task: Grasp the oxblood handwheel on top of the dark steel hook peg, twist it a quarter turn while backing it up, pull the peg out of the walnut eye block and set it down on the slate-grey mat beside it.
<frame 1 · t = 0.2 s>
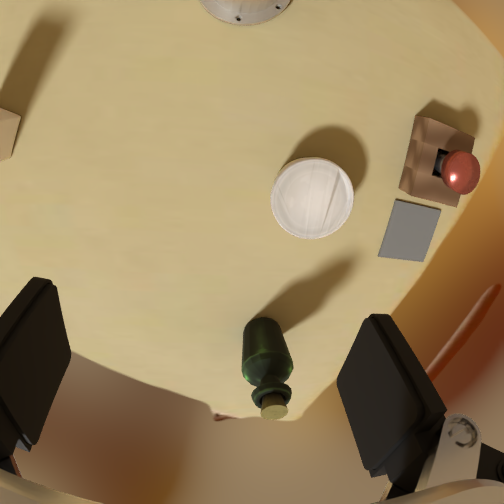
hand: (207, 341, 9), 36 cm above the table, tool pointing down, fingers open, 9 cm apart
potion bottle: (261, 330, 56), on the table
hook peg: (447, 166, 40), in the eye block
milk carton: (2, 130, 36), on the table
ramekin: (305, 189, 45), on the table
eye block: (431, 159, 44), on the table
slate mat: (410, 232, 49), on the table
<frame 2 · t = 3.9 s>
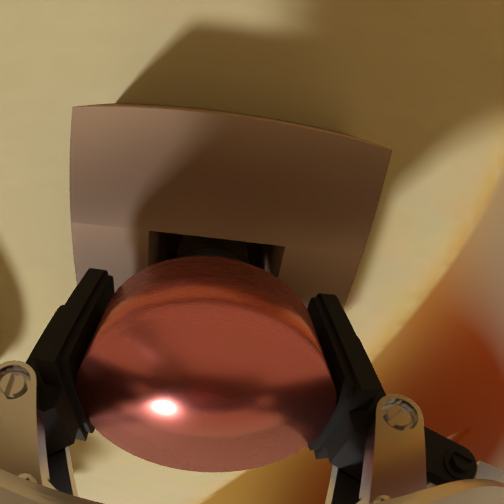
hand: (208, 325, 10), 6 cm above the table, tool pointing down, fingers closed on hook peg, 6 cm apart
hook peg: (209, 305, 10), in the eye block, touching gripper
eye block: (213, 246, 15), on the table
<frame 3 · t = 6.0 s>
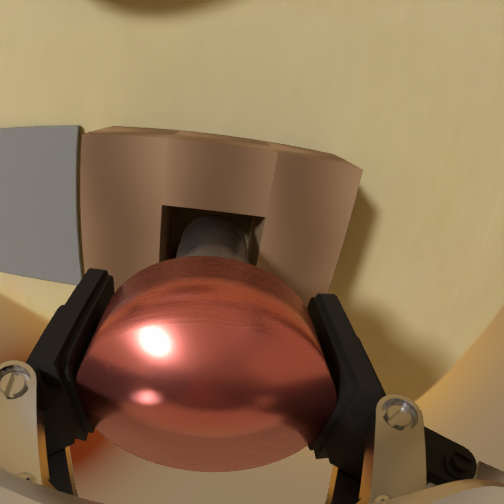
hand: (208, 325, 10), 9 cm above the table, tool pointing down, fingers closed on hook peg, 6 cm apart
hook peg: (209, 305, 10), point 8 cm above the table, touching gripper
eye block: (211, 224, 18), on the table
slate mat: (14, 205, 16), on the table
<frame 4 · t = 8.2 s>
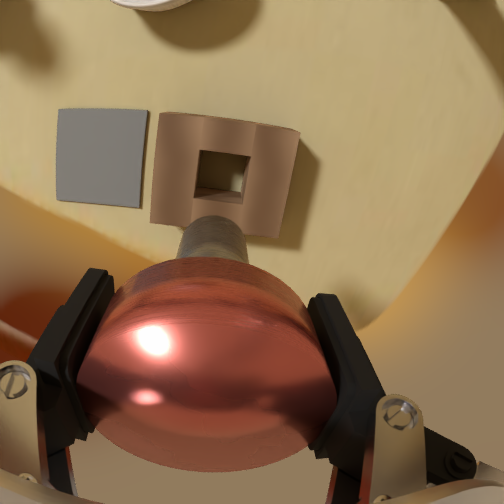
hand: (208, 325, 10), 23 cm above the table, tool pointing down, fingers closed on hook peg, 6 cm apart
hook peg: (209, 306, 11), point 22 cm above the table, touching gripper
eye block: (222, 168, 31), on the table
slate mat: (97, 156, 29), on the table
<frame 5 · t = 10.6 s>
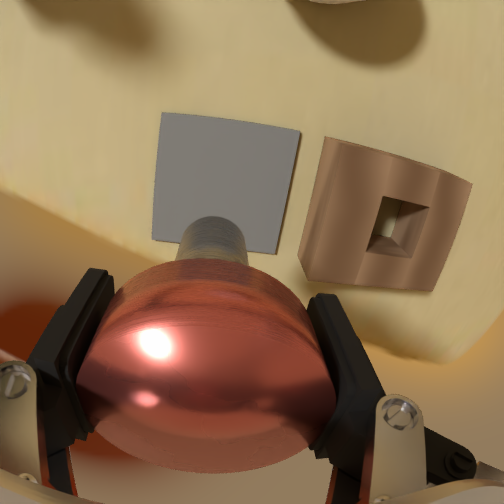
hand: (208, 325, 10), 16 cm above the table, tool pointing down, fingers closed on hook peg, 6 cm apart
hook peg: (208, 307, 10), point 15 cm above the table, touching gripper
eye block: (377, 210, 25), on the table
slate mat: (221, 185, 24), on the table
when the fingers open (7 cm above the table, at t = 12.6 s): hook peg drops 2 cm, resting on slate mat.
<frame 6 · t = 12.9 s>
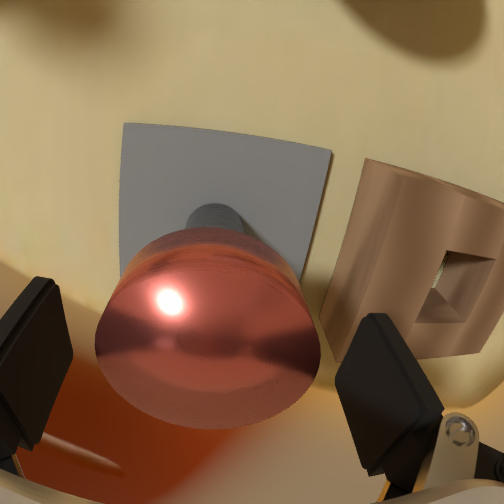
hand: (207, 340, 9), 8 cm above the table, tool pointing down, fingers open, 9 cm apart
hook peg: (211, 279, 12), resting on slate mat
eye block: (423, 257, 18), on the table
slate mat: (214, 229, 16), on the table
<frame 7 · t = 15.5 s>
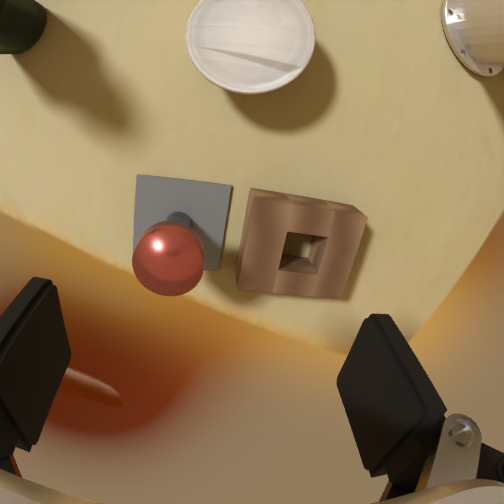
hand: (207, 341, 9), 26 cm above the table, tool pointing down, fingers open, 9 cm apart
potion bottle: (25, 28, 22), on the table
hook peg: (173, 242, 30), resting on slate mat
ramekin: (246, 44, 27), on the table
eye block: (294, 238, 36), on the table
slate mat: (178, 224, 34), on the table
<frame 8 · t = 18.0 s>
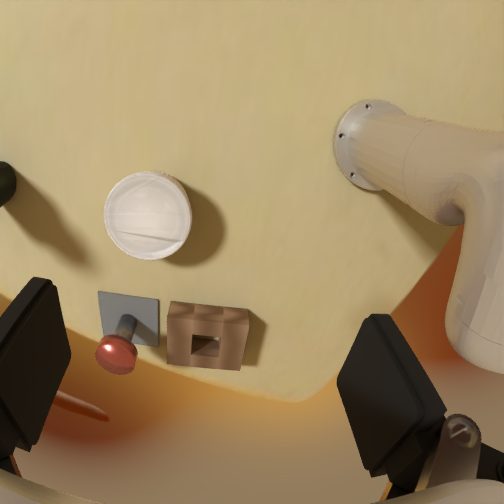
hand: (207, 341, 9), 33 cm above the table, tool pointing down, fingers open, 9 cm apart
potion bottle: (3, 180, 37), on the table
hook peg: (121, 339, 45), resting on slate mat
ramekin: (154, 204, 41), on the table
eye block: (206, 329, 51), on the table
slate mat: (129, 320, 49), on the table
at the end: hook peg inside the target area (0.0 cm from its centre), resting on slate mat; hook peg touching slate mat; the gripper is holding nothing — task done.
